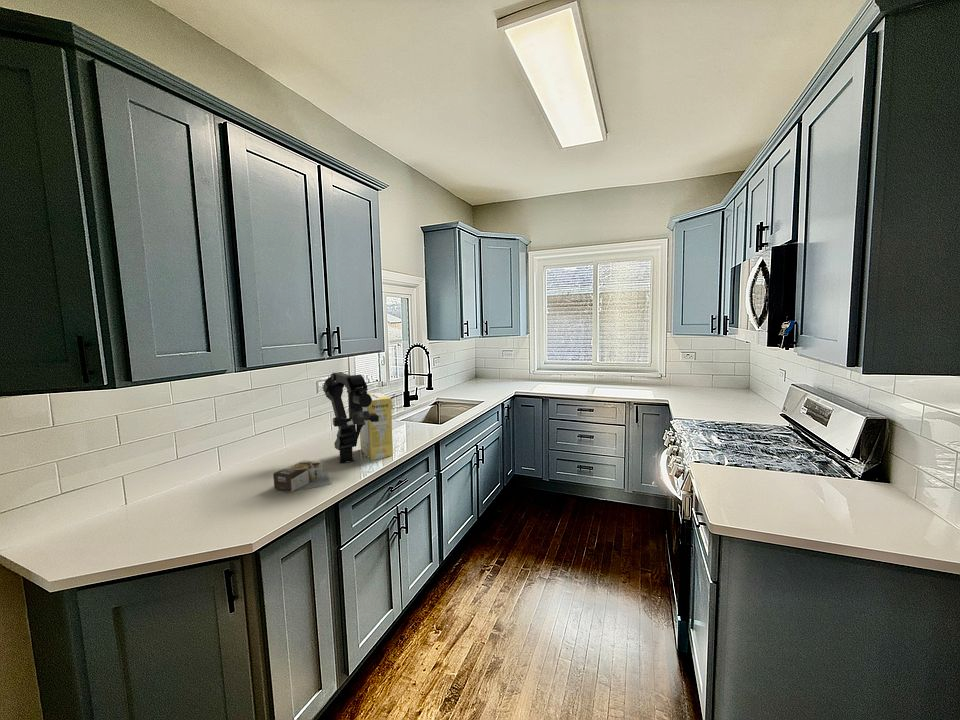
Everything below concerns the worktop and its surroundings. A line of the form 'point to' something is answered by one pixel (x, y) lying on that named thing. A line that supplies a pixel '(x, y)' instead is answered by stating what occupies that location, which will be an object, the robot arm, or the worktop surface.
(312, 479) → the coffee box
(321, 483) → the mat
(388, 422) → the pasta box
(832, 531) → the worktop surface
